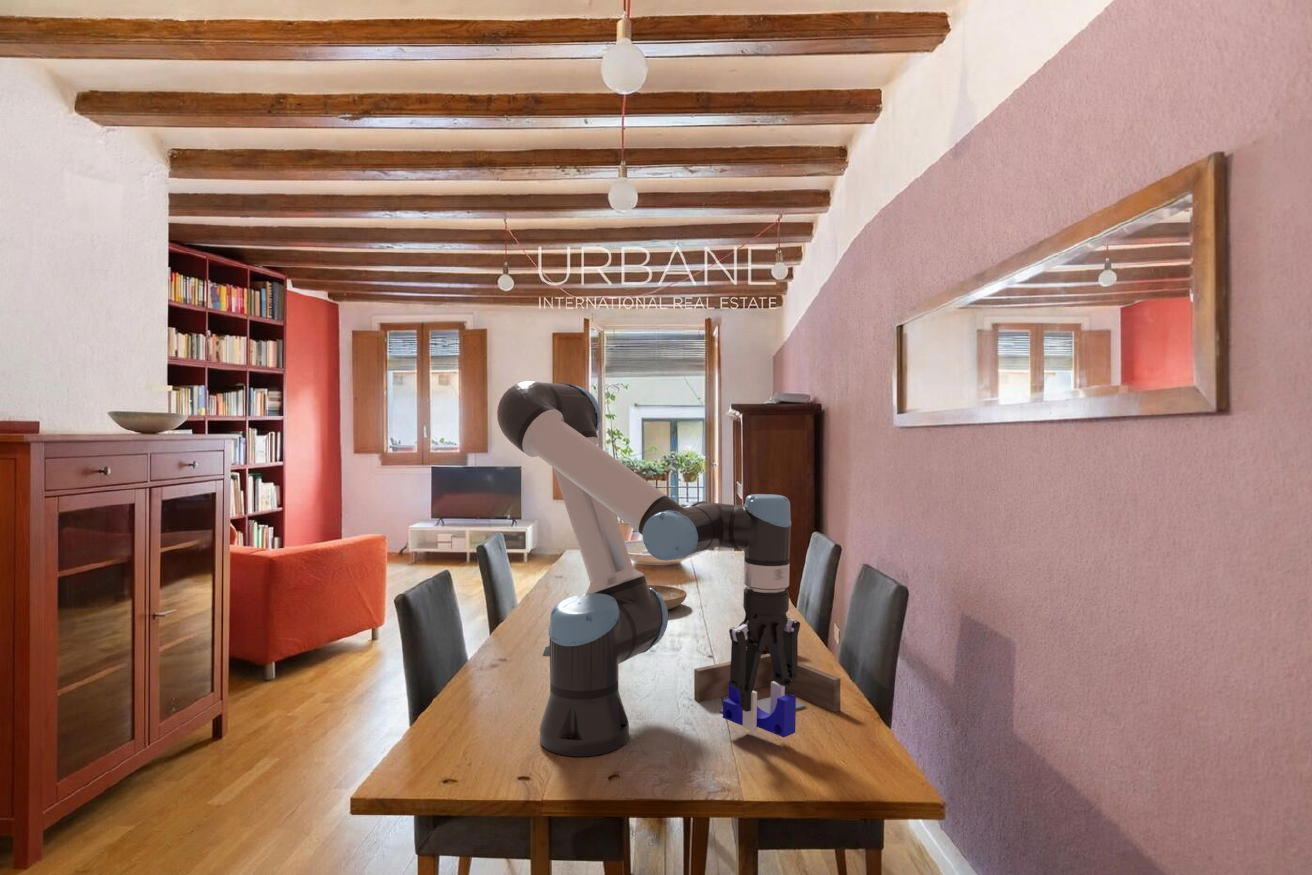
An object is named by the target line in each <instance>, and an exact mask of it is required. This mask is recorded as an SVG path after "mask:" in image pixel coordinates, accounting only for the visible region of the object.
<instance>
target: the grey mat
mask: <svg viewBox="0 0 1312 875" xmlns="http://www.w3.org/2000/svg"><path fill="white" fill-rule="evenodd" d="M770 699H771V696H769V697H765V698H764V697H763V698H760V699H757V706H758V707H759V708H760V709H761V710H762V711H764V712H766V713H769V714H770ZM803 709H806V705H805V704H803V703H801V702H799V701H797V700H796V711H799V710H803ZM718 712H719V713H721V714H723V708H720V709H719V711H718Z"/></svg>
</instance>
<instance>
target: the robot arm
mask: <svg viewBox="0 0 1312 875" xmlns="http://www.w3.org/2000/svg"><path fill="white" fill-rule="evenodd" d="M496 414H497V423H498V426H499V428H500V431H501V432H502V434H503V435H504V436H505V438H506V439H507V440H508V441H509V442H510V443H511V444H512V445H513V446H515V447H516V448H517V449H518V450H520V451H521V452H522V453H524V454H525V455H527V456H528V457H530V458H531V457H532V458H534V457H538V458H540V459H541V460H543V461H544V462H546V463H547V464H548V465H549V466H551V467H552V469H553V471H554V474H555V476H556V479H557V480H556V481H557V483H558V487H559V489H560V492H561V496H562V499H563V501H564V502H563V503H564V505H565V508H566V512H567V514H568V518H569V521H570V525H571V527H572V529H573V533H574V536H575V539H576V542H577V546H578V549H579V553H580V555H581V558H582V561H583V564H584V568H585V572H586V575H587V577H588V580H589V586H588V588H587V590H586V592H585V593H584V594H583V593H582V594H581V595H573V596H570V597H567V598H565V599H562V600H561V601H558V602H557V603H556V604H555V605H554V606H553V608H551V612H550V617H549V627H548V637H549V646H550V656H549V696H548V697H549V698H548V700H547V703H546V706H545V709H544V713H543V716H542V719H541V723H540V726H539V743H540V745H541V746H542V747H543V748H544V749H545V750H547V751H549V752H552V753H554V754H558V755H561V756H568V757H591V756H598V755H599V756H600V755H603V754H607V753H610V752H613V751H615V750H618V749H619V748H622V747H623V746H624V745H625V744H626V743H627V742H628V740H629V739H630V724H629V719H628V716H627V714H626V710H625V707H624V704H623V701H622V698H621V694H620V691H619V687H620V686H619V678H620V677H619V676H620V675H619V668H620V667H619V665H620V664H621V663H624V662H626V661H627V660H630V659H631V658H633V657H635V656H637V655H640V654H644V653H646V652H648V651H649V650H650V649H652V648H653V646H655V645H657V644H658V643H659V642H660V641H661V640H662V638H663V637H664V635H665V633H666V631H667V628H668V625H669V624H668V623H669V612H668V611H669V610H667V607H666V604H665V601H664V599H663V598H662V596H661V595H660V594H659V593H658V592H656V591H654V589H653V588H651V587H648V585H649V584H648V582H647V579H646V576H645V574H644V573H643V572H641V571H639V570H638V569H635V567H634V566H633V563H632V560H631V557H630V554H629V550H628V548H627V545H626V541H625V539H624V536H623V532H622V530H621V527H620V523H619V521H618V518H619V519H621V520H622V521H623V522H625V524H627V525H629V526H630V527H631V528H632V529H634V530H635V531H637V533H639V534H640V535H641V536H642V542H643V544H644V546H645V548H646V550H647V553H649V554H650V555H651V556H652V557H653V558H655V559H657V560H660V561H664V562H665V561H673V560H674V561H676V560H681V559H684V558H687V557H688V556H691V555H693V554H697V553H700V552H704V551H707V550H709V549H713V548H722V549H723V548H724V549H734V550H743V551H744V552H743V553H744V559H743V560H744V561H743V564H744V566H743V585H745V587H744V588H743V601H742V602H743V603H742V605H743V606H742V607H743V610H744V612H745V616H744V619H743V621H742V622H743V625H741V626H740V627H730V628H729V629H728V631H729V638H730V637H731V638H730V642H731V646H730V647H731V648H730V649H731V651H730V655H731V656H730V661H731V671H730V685H731V686H732V687H734V688H736V689H738V690H740V708H741V709H742V710H743V726H742V727H743V728H744V729H745V730H748V731H750V732H752V733H756V732H757V727H756V725H757V700H758V691H755V689H754V684H755V680H756V675H757V671H758V666H759V662H760V658H761V655H762V653H764V651H765V650H764V649H765V645H766V644H767V645H768V647H769V652H770V657H771V662H772V667H773V672H774V677H775V680H776V681H777V682H775V681H773V682H771V685H770V697H771V699H770V714H772V713H773V712H774V710H775V708H776V705H777V698H779V697H782V696H784V695H787V694H788V691H787V686H791V685H792V681H791V679H796V678H797V673H798V662H799V661H798V660H799V659H798V657H799V656H798V648H799V646H798V644H799V642H798V640H799V639H798V635H799V631H800V628H801V622H800V621H798V620H795V619H793V618H789V617H788V616H787V613H788V612H789V609H790V607H789V606H790V592H789V590H788V589H787V588H788V587H789V586H790V565H791V564H790V561H791V560H790V556H791V535H792V534H791V533H792V532H791V527H792V520H791V519H792V517H791V502H790V500H789V499H788V497H786V496H784V495H780V494H773V493H772V494H769V493H768V494H767V493H766V494H765V493H755V494H754V493H752V494H749V495H747V496H746V497H745V503H744V504H727V503H717V502H709V501H704V500H702V501H688V502H685V503H683V505H680V504H679V503H678V502H676V501H674V500H673V499H671V497H669V496H667V495H666V494H665V493H664V492H663V491H661V490H660V489H658V488H657V487H656V486H654V484H653V485H652V484H651V483H650V482H648V481H647V480H645V479H644V478H643V477H642V476H640V475H639V474H637V473H636V472H634V471H633V470H631V469H630V468H629V467H628V466H626V465H625V464H624V463H622V462H621V461H619V460H618V459H616V458H615V457H613V456H612V455H611V454H610V453H608V452H607V451H606V450H604V449H602V448H601V447H600V446H598V444H599V442H600V439H599V436H598V431H599V428H600V425H599V424H600V423H601V422H602V421H601V420H602V414H601V409H600V406H599V403H598V401H597V400H596V398H595V396H593V394H592V393H591V392H589V391H588V390H587V389H585V388H583V387H582V386H579V385H574V384H572V383H564V382H560V383H553V382H543V381H542V382H541V381H535V380H534V381H532V380H526V381H522V382H521V381H520V382H519V383H516V384H513V385H512V386H511V387H509V388H508V389H507V390H506V391H505V392H504V393H503V395H502V396H501V397H500V400H499V402H498V406H497V412H496ZM617 517H618V518H617ZM782 632H783V635H782ZM746 634H748V637H747V636H746ZM746 640H747V641H746ZM755 643H756V644H755ZM757 644H758V645H757Z"/></svg>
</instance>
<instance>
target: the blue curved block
mask: <svg viewBox="0 0 1312 875" xmlns="http://www.w3.org/2000/svg"><path fill="white" fill-rule="evenodd" d="M796 701H797V695H794V694H791V693H787V695H784V696H782V697H779V698H777V705H776V708H775V710H774V712H773V713H772V714H769V713H766V712H764V711H762V710H761V709H760V708H759V707H758V706H757V725H756V728H759V729H761V730H764V731H766V732H769V733H771V734H774V735H776V736H780V737H781V738H787V737H789V736H791V735H793V734H796V722H797V721H796V715H797V712H796V711H797V710H796ZM722 709H723V713H722V719H725V720H727V721H730V722H732V723H735V724H737V725H739V726H741V727H743V710H742V709H741V708H740V690H738V689H736V688H734V687H732V686H731V685H730V681H729V695H728V698H726V699H724V700H722Z"/></svg>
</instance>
